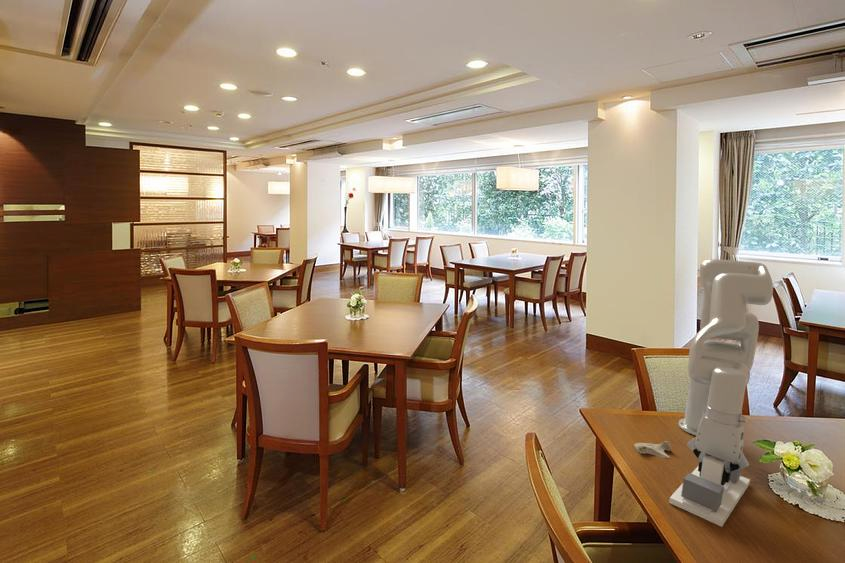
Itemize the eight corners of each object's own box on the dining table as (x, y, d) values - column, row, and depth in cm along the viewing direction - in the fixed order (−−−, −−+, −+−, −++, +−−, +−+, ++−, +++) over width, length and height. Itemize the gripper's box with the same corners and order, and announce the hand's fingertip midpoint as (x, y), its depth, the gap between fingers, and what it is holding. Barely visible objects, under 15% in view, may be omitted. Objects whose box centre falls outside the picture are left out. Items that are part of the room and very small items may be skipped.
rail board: (701, 466, 141) (704, 444, 140) (749, 484, 132) (753, 461, 131) (669, 502, 123) (672, 478, 122) (721, 526, 115) (726, 500, 113)
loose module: (706, 473, 131) (710, 450, 129) (725, 481, 128) (729, 457, 126) (699, 482, 127) (703, 458, 125) (718, 490, 123) (722, 465, 122)
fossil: (675, 460, 144) (677, 450, 143) (637, 455, 146) (639, 445, 145) (669, 449, 151) (670, 439, 150) (632, 444, 153) (633, 434, 152)
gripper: (765, 422, 120) (753, 488, 124) (692, 400, 132) (683, 460, 135) (758, 431, 115) (746, 500, 118) (682, 408, 127) (674, 470, 130)
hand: (712, 478), depth 127 cm, fingers closed on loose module, 4 cm apart
